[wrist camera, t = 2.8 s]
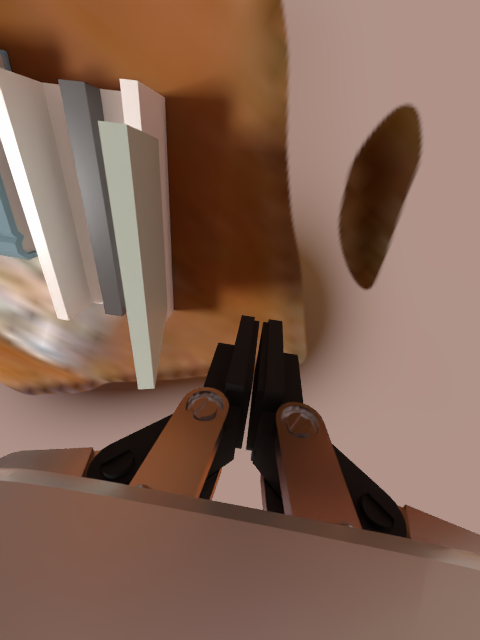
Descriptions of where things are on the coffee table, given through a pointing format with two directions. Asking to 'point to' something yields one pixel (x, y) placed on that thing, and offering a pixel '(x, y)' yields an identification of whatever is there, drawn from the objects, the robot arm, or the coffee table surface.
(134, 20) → the coffee table surface
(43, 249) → the white channel
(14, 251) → the book
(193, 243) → the coffee table surface
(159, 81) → the coffee table surface
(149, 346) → the cover
